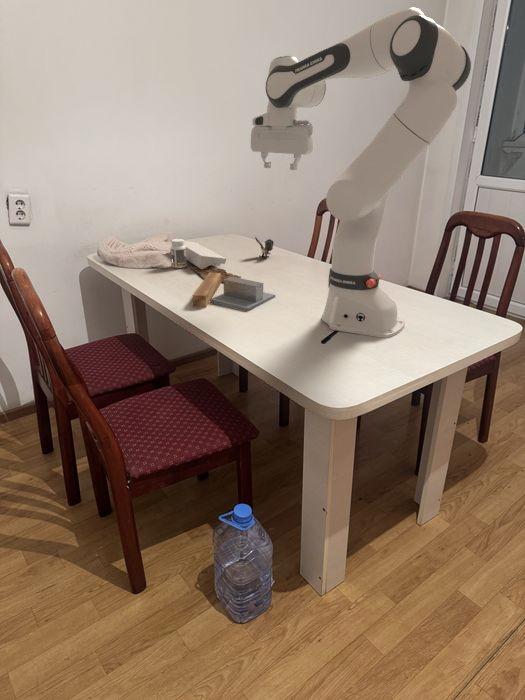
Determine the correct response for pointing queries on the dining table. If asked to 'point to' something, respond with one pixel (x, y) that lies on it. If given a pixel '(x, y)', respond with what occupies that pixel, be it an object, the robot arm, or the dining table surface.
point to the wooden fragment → (207, 270)
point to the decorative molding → (202, 255)
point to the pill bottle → (178, 253)
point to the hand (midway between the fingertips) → (280, 169)
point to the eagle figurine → (267, 248)
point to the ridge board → (240, 302)
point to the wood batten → (206, 290)
